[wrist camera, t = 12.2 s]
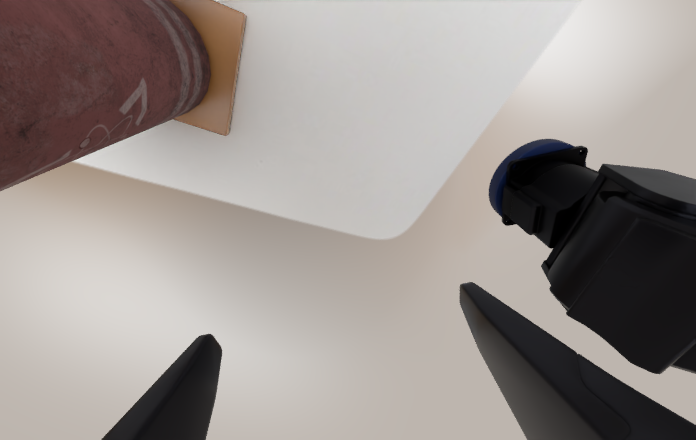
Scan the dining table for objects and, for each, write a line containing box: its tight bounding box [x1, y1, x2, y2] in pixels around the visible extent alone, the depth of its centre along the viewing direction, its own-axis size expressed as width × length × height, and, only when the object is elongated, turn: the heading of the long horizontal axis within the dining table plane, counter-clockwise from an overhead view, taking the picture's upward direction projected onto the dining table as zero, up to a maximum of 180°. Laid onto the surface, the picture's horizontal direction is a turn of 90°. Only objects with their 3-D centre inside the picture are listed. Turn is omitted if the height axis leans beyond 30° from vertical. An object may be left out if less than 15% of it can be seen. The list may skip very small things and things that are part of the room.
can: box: [0, 0, 211, 191], centre depth 10 cm, size 6×6×14 cm
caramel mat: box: [169, 0, 246, 136], centre depth 16 cm, size 9×7×1 cm
